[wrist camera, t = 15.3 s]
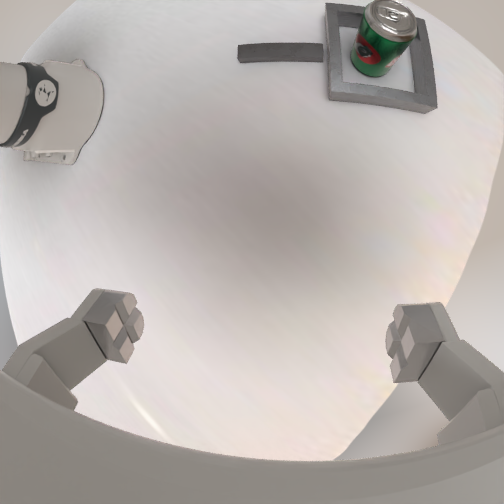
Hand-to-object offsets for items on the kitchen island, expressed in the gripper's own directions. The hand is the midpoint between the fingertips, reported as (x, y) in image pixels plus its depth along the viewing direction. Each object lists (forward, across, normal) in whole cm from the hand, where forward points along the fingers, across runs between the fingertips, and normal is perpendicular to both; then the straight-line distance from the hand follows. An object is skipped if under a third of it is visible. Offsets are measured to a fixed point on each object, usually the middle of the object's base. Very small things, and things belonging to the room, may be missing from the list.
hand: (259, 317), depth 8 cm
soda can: (+30, -11, -11) cm, 34 cm away
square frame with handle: (+30, -6, -11) cm, 33 cm away
